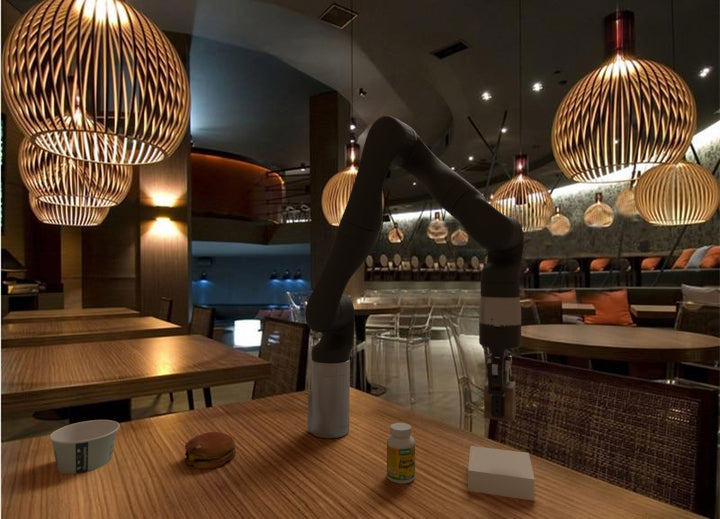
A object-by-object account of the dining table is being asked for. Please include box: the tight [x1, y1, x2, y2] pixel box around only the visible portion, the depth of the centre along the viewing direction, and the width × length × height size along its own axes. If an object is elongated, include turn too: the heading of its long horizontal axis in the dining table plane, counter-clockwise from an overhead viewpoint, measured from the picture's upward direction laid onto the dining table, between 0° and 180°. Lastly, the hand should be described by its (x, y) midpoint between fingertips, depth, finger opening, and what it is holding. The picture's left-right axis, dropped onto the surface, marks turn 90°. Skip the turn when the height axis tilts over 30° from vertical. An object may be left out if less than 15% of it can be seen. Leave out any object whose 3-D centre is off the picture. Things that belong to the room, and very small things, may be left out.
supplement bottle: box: [386, 422, 416, 485], centre depth 82 cm, size 5×5×10 cm
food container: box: [48, 419, 121, 475], centre depth 87 cm, size 12×12×6 cm
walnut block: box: [483, 379, 517, 423], centre depth 81 cm, size 5×5×6 cm
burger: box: [184, 431, 237, 470], centre depth 89 cm, size 10×9×5 cm
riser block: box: [467, 445, 536, 502], centre depth 81 cm, size 11×11×4 cm
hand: (499, 411), depth 81 cm, fingers closed on walnut block, 5 cm apart
